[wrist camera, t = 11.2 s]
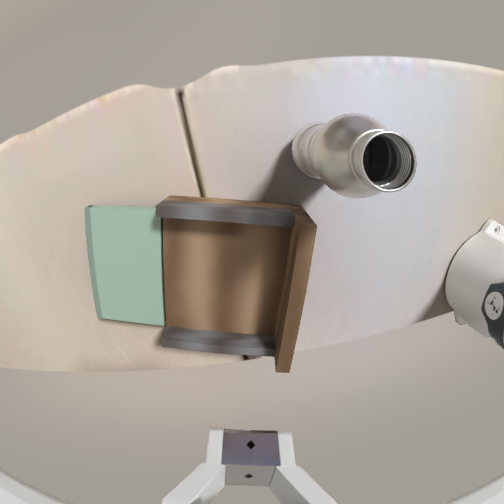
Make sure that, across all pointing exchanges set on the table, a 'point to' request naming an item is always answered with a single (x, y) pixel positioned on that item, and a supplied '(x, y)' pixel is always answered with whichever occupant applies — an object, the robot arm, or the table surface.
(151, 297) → the panel
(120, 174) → the table surface
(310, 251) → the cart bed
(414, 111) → the table surface
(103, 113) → the table surface
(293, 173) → the table surface
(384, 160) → the plastic bottle
